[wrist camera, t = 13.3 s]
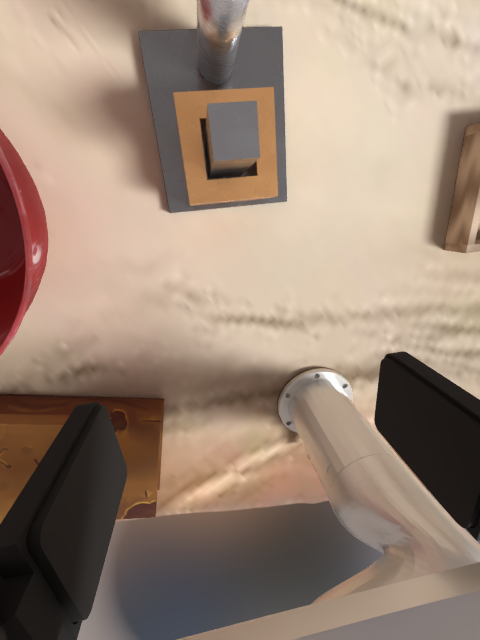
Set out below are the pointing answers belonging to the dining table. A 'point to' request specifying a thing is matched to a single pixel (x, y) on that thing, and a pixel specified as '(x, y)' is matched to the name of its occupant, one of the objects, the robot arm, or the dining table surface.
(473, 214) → the wooden tray
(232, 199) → the grey stepped fixture
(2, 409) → the diary
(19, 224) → the mixing bowl
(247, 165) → the grey rectangular block
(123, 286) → the dining table surface
